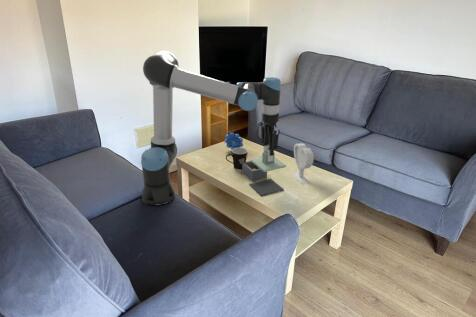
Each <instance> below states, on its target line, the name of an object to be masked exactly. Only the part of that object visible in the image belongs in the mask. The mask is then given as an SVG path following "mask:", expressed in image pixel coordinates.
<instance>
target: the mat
mask: <svg viewBox="0 0 476 317" xmlns="http://www.w3.org/2000/svg"><path fill="white" fill-rule="evenodd" d="M248 185H249V187H251V189H253V190H254V191H255V192H256V193H257V194H258V195H259V196H260V197H264V196H268V195H271V194H275V193H276V194H277V193H278V192H283V191H285V189H284V188H283V187H282V186H281V185H279V184H278V183H277V182H276V181H274V180H273V179H272V178H269V179H263V180H259V181H255V182H253V183H249V184H248Z"/></svg>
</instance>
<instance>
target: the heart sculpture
mask: <svg viewBox="0 0 476 317" xmlns="http://www.w3.org/2000/svg"><path fill="white" fill-rule="evenodd" d="M293 156H294V160H295V163H296V166H297V169H298V171H295V172H293V173H292V172H291V174H292V175H293V176H294V177H295V179H296V180H297V181H298V182H299V183H300V184H301V185H308V184H310V183H311V181H309V179H307V177H306V176H305V175H304V171H305V170H306V169H310V168H311V167H312V166H313V164H314V157H315V156H314V152H313V151H312V149H311V147H307V145H306V144H305V143H294V146H293Z"/></svg>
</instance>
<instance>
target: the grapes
mask: <svg viewBox="0 0 476 317" xmlns="http://www.w3.org/2000/svg"><path fill="white" fill-rule="evenodd" d="M223 141H224V143H225V144H226V148H227V149H231V151H232V150H233V149H234V148H244V143H243V142H244V139H243V137H240V134H239V133H234V132H229V134H225V139H224V140H223Z"/></svg>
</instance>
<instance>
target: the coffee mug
mask: <svg viewBox="0 0 476 317" xmlns="http://www.w3.org/2000/svg"><path fill="white" fill-rule="evenodd" d="M228 156H231V157H232V161H230V160H229V159H228V158H227V157H228ZM247 157H248V149H247V148H245V147H240V148H234V149H233V150H232V149H231V153H228V154H226V156H225V160H226V161H227V162H229V163H231V164H232V165H233V169H234V170H238V171H239V170H240V171H242V163H244V162H247Z"/></svg>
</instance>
